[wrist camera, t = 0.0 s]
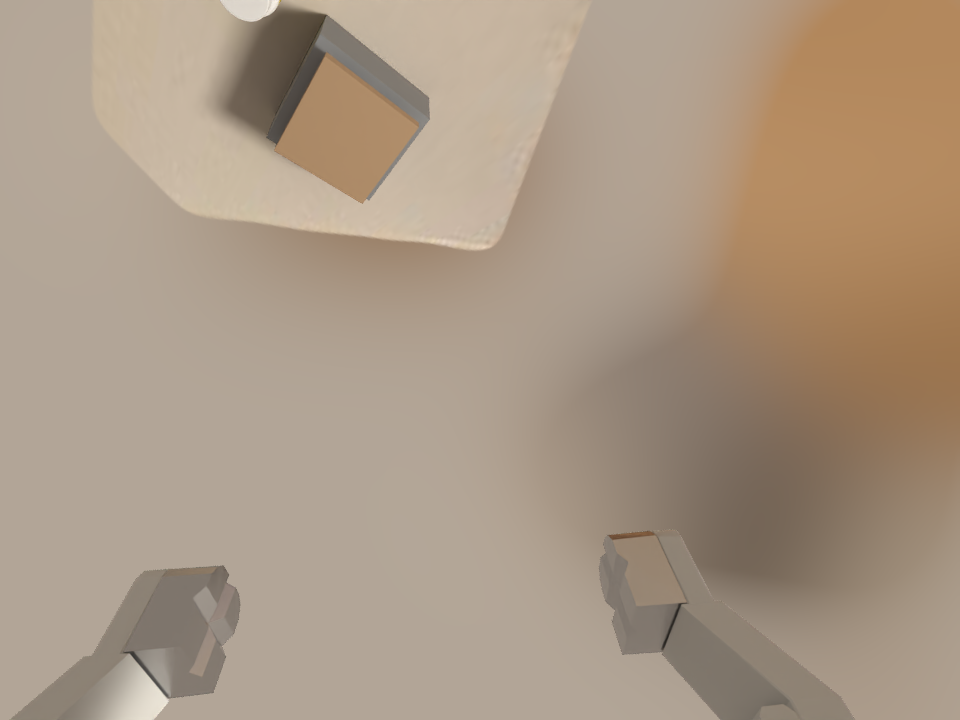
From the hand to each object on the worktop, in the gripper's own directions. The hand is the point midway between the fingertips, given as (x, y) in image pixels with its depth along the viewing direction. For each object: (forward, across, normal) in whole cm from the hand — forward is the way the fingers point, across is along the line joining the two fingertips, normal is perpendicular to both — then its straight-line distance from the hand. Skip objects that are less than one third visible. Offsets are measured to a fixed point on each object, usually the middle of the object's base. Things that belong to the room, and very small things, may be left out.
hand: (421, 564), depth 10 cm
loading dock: (+53, +8, -4) cm, 54 cm away
